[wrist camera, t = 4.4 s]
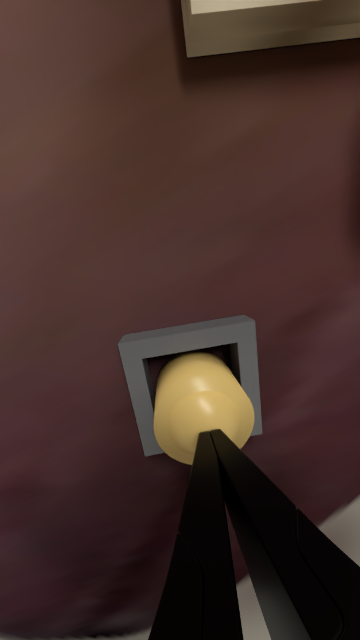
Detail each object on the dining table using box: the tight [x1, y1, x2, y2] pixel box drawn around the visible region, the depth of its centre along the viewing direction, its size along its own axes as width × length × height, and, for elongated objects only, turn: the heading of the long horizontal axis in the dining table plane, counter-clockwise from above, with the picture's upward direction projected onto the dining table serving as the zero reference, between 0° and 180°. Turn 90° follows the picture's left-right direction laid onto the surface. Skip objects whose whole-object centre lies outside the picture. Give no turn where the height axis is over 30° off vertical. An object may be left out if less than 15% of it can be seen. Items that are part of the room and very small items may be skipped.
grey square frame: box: [118, 315, 262, 456], centre depth 12 cm, size 7×7×2 cm
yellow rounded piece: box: [154, 350, 254, 465], centre depth 10 cm, size 4×4×4 cm
